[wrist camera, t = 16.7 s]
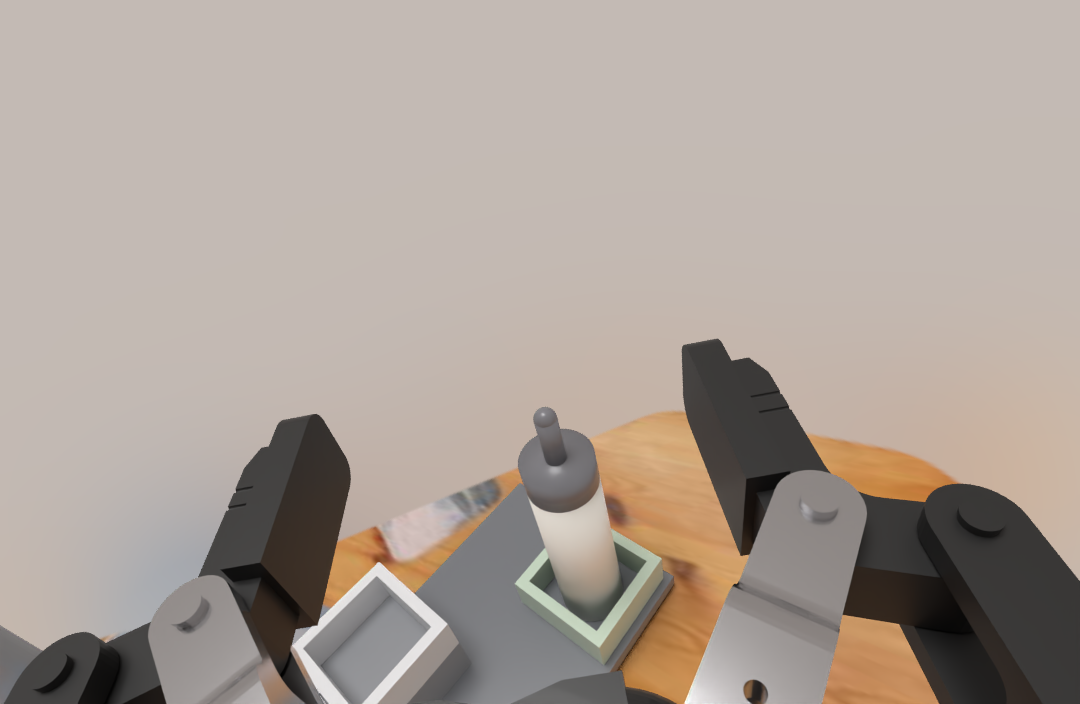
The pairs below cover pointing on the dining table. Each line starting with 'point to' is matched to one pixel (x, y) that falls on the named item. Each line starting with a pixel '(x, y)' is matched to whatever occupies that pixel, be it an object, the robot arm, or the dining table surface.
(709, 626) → the dining table surface
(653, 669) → the dining table surface
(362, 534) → the dining table surface
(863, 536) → the robot arm
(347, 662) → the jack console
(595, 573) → the plug
